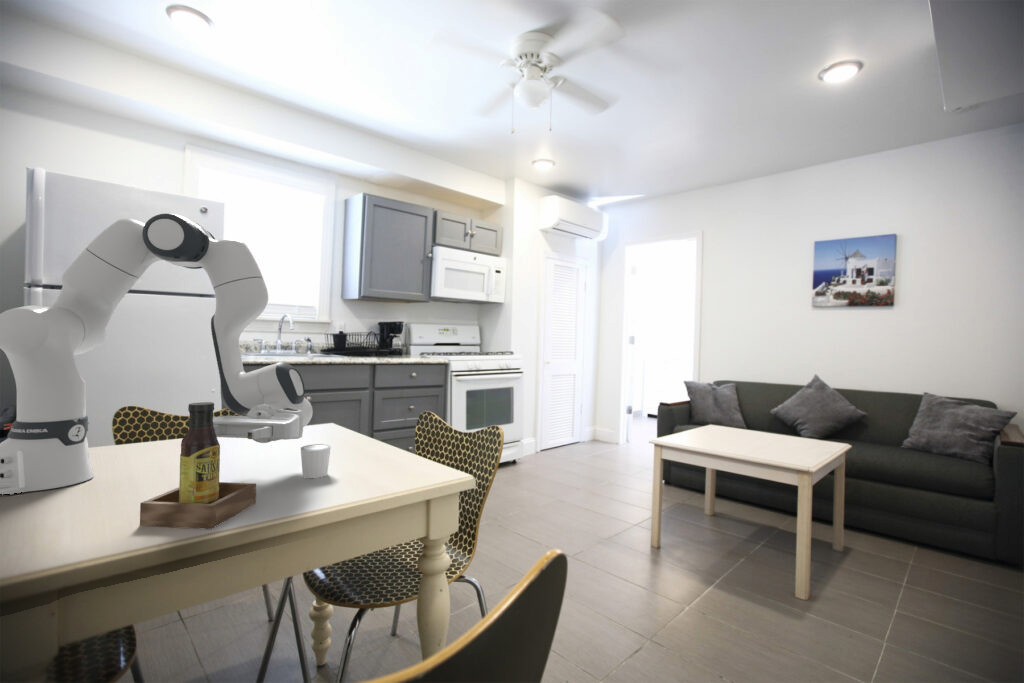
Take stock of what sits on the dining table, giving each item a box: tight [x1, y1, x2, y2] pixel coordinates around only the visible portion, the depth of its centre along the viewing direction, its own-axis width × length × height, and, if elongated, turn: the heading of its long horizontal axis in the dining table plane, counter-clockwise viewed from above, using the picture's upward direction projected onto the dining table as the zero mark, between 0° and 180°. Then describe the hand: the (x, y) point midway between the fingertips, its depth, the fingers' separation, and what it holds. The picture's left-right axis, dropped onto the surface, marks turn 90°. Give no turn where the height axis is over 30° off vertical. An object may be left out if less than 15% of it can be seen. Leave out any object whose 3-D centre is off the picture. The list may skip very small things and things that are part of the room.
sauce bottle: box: [178, 401, 221, 504], centre depth 88 cm, size 6×6×20 cm
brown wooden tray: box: [139, 481, 257, 530], centre depth 88 cm, size 13×13×4 cm
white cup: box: [300, 443, 331, 479], centre depth 115 cm, size 7×7×7 cm
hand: (228, 434), depth 96 cm, fingers open, 8 cm apart
